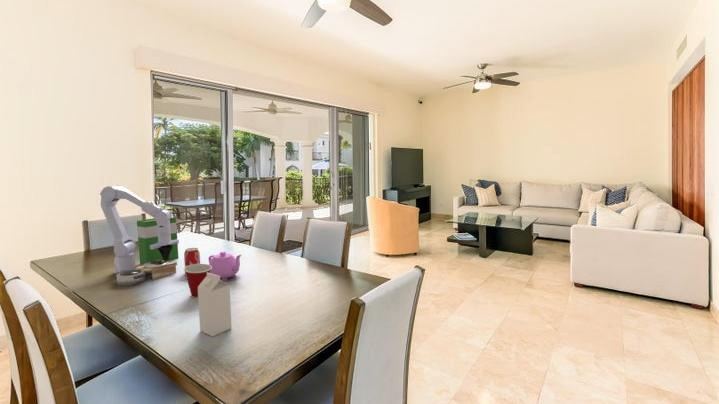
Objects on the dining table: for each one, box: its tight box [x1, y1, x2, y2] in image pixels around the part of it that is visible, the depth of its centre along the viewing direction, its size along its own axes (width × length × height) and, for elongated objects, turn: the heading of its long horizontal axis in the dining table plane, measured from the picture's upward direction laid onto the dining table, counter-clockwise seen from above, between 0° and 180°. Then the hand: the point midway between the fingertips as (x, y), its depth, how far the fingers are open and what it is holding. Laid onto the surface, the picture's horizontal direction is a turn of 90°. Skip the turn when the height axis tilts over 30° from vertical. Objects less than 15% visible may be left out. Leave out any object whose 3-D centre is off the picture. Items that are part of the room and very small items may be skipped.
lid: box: [144, 260, 169, 268], centre depth 174 cm, size 11×11×2 cm
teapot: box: [208, 251, 242, 282], centre depth 168 cm, size 20×14×12 cm
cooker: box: [115, 269, 147, 287], centre depth 163 cm, size 15×11×4 cm
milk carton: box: [197, 272, 233, 338], centre depth 115 cm, size 7×7×19 cm
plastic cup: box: [183, 263, 212, 298], centre depth 146 cm, size 11×11×12 cm
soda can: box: [183, 247, 201, 267], centre depth 176 cm, size 7×7×12 cm
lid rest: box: [135, 259, 178, 280], centre depth 174 cm, size 13×13×5 cm
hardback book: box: [136, 216, 179, 265], centre depth 197 cm, size 18×7×24 cm, turn 151°
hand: (165, 260), depth 178 cm, fingers closed
